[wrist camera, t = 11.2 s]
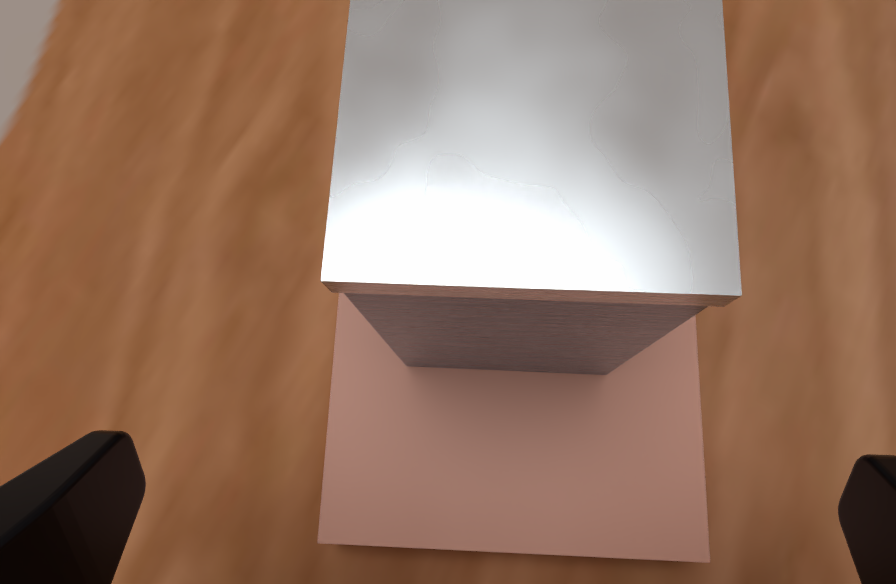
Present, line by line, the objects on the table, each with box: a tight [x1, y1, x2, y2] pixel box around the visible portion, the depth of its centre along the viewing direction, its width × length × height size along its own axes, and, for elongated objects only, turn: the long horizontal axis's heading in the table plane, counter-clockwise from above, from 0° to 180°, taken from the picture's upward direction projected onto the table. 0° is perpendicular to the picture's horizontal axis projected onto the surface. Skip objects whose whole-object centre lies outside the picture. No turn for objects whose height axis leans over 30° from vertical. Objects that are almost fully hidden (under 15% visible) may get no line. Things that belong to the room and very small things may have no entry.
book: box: [318, 293, 710, 563], centre depth 21 cm, size 11×16×3 cm
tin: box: [321, 0, 742, 375], centre depth 15 cm, size 6×6×10 cm
